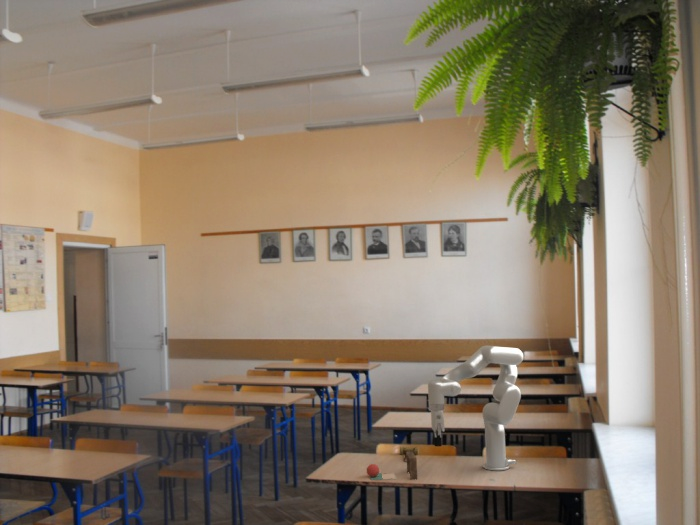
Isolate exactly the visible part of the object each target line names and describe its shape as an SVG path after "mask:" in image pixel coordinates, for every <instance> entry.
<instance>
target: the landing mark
mask: <svg viewBox="0 0 700 525" xmlns="http://www.w3.org/2000/svg"><path fill="white" fill-rule="evenodd" d="M382 473H383V472H379V474H378V475H377V476H376V477H370V476H369V477H370V481H383V480H382V479H383V478H382Z"/></svg>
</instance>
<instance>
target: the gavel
mask: <svg viewBox="0 0 700 525" xmlns="http://www.w3.org/2000/svg"><path fill="white" fill-rule="evenodd" d="M411 451H412V452H413V453H414V455H415V456H419V455H420V454H419V453H420V450H419V447H418V446H414V447H413V446H412V447H410V446H408V447H407V446H406V447H404V446H400V447H399V455H400V456H403V455H405V456H404V458H403V461H404V460H405V461H404V462H405V463H407V456H406V452H411Z"/></svg>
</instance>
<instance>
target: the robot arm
mask: <svg viewBox="0 0 700 525" xmlns="http://www.w3.org/2000/svg"><path fill="white" fill-rule="evenodd" d="M523 360H524V353H523V351H522V350H520V348H518V347H517V348H516V347H508V346H507V347H506V346H497V345H482V346H481V347H480V348H479V349H478V350H476V351H475V352H474V353H473V354H472V355H471V356H470V357H469V358H468V359H467V360H466V361H464V362H463V363H461V364H459V365H457V366H456V367H454V368H453V369H451V370H449V371H448V372H446V373H445V374H444V375H443V376H442V377H441V378H440V380H434V381H433V380H432V381H429V382H428V384H427V394H428V411H430V417H431V429H432V431H433V440H434V442H433V443H434V446H435V447H442V433H444V432H445V430H446V429H445V418H444V411H445V410H446V409H445V397H457V396H458V395H459V394H460V393H461V391H462V387H461V384H460V382H462V381H464V380H468V379H471V378H474V377H476V376H477V375H478V374H480V373H481V372H482V371H483V370H484V369H486V367H487V366H488V365H489V364H497V365H499V367H500V369H499V370H500V372H499V375H498V378H497V380H496V383H495V385H494V388H493V391H492V396H493V398H494V400H496V401H498V402H499V403H497V402H488V403H486V404H485V405H484V406H483V408H482V419H483V423H484V425H483V426H484V434H485V435H484V438H485V439H484V442H485V443H484V444H485V462H486V463H484V464H483V465H482V467H483V468H484V470H489V471H506V470H509V469H510V464H511V465H513V464H514V465H515V464H517V462H516V459H511V458H510V459H508V458H507V455H506V454H507V452H506V432H505V426H506V425H509V424H510V423H512V421H513V419H514V417H515V415H516V412H517V410H518V406H519V404H520V401H521V398H522V395H521V394H522V393H521V389H520V388H519V387H518V386H517V385H516V382H517V378H518V368H517V366H519V365H520V364H522V362H523Z"/></svg>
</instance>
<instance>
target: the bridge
mask: <svg viewBox="0 0 700 525" xmlns="http://www.w3.org/2000/svg"><path fill="white" fill-rule="evenodd" d="M405 455H406V456H407V462H406V473H408V472H409V473H408V474H409V476H410V477H409V478H410V480H411V481H413V480H414V481H415V479H416V480H418V463H417V461H418V460H417V456H416V455H414V453H413V452H412V451H411V452H406V454H405Z"/></svg>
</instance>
